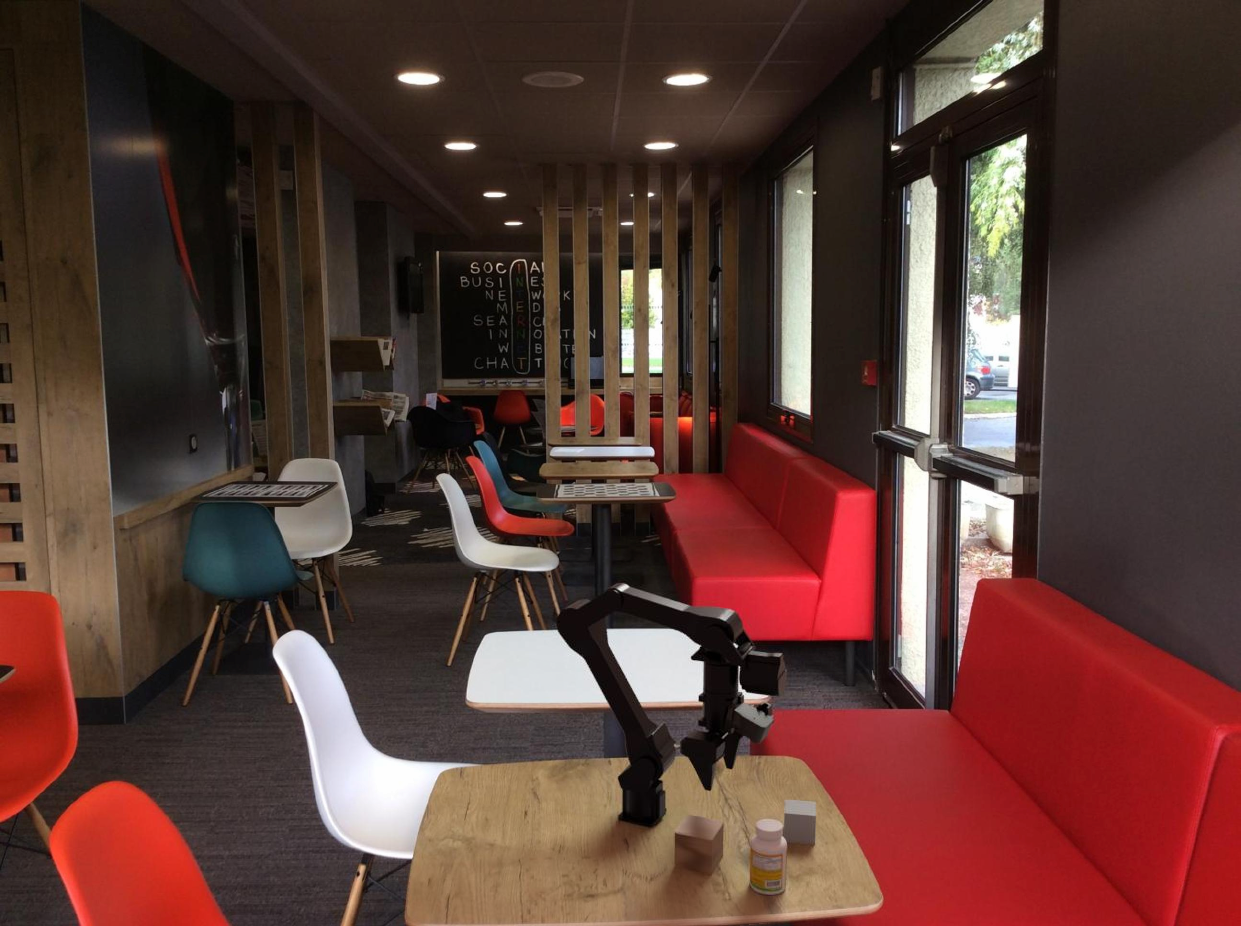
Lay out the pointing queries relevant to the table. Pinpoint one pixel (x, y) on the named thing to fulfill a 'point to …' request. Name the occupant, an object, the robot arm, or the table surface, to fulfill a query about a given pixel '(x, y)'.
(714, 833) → the walnut cube
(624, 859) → the table surface
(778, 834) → the supplement bottle
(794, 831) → the grey cube
